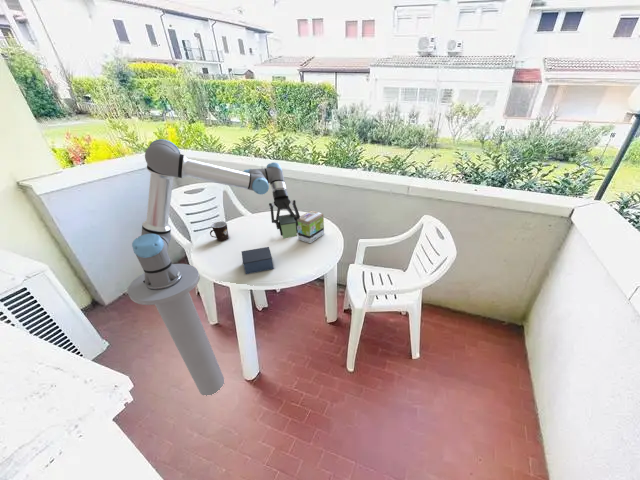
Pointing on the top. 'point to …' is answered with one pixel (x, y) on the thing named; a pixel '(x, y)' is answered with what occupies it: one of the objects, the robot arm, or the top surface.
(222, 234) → the coffee mug
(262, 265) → the blue tub
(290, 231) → the green box
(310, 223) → the tea box
